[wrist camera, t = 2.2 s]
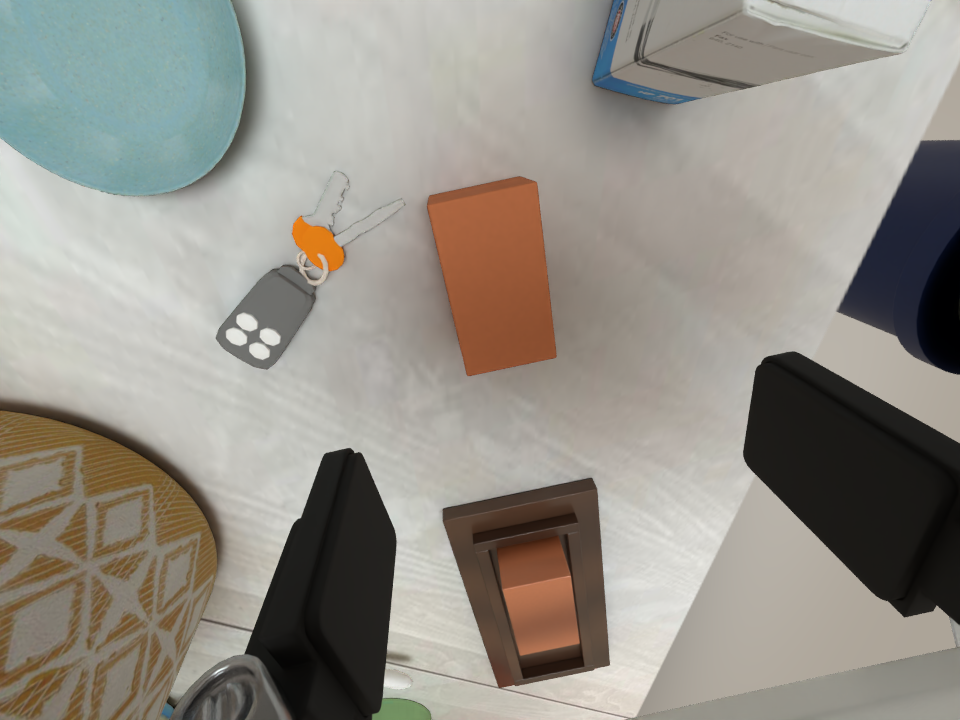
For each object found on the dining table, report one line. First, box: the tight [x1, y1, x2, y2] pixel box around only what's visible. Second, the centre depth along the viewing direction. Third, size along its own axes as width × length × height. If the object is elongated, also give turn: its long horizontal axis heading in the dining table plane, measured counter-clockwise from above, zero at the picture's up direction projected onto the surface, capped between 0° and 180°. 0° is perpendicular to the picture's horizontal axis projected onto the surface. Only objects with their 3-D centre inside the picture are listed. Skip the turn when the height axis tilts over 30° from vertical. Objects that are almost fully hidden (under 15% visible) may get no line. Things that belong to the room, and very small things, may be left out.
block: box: [427, 176, 557, 376], centre depth 22 cm, size 9×5×4 cm, turn 11°
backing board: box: [443, 478, 610, 688], centre depth 36 cm, size 26×12×5 cm, turn 11°
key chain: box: [216, 171, 405, 369], centre depth 22 cm, size 13×4×2 cm, turn 137°
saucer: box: [0, 0, 246, 196], centre depth 17 cm, size 12×12×2 cm
